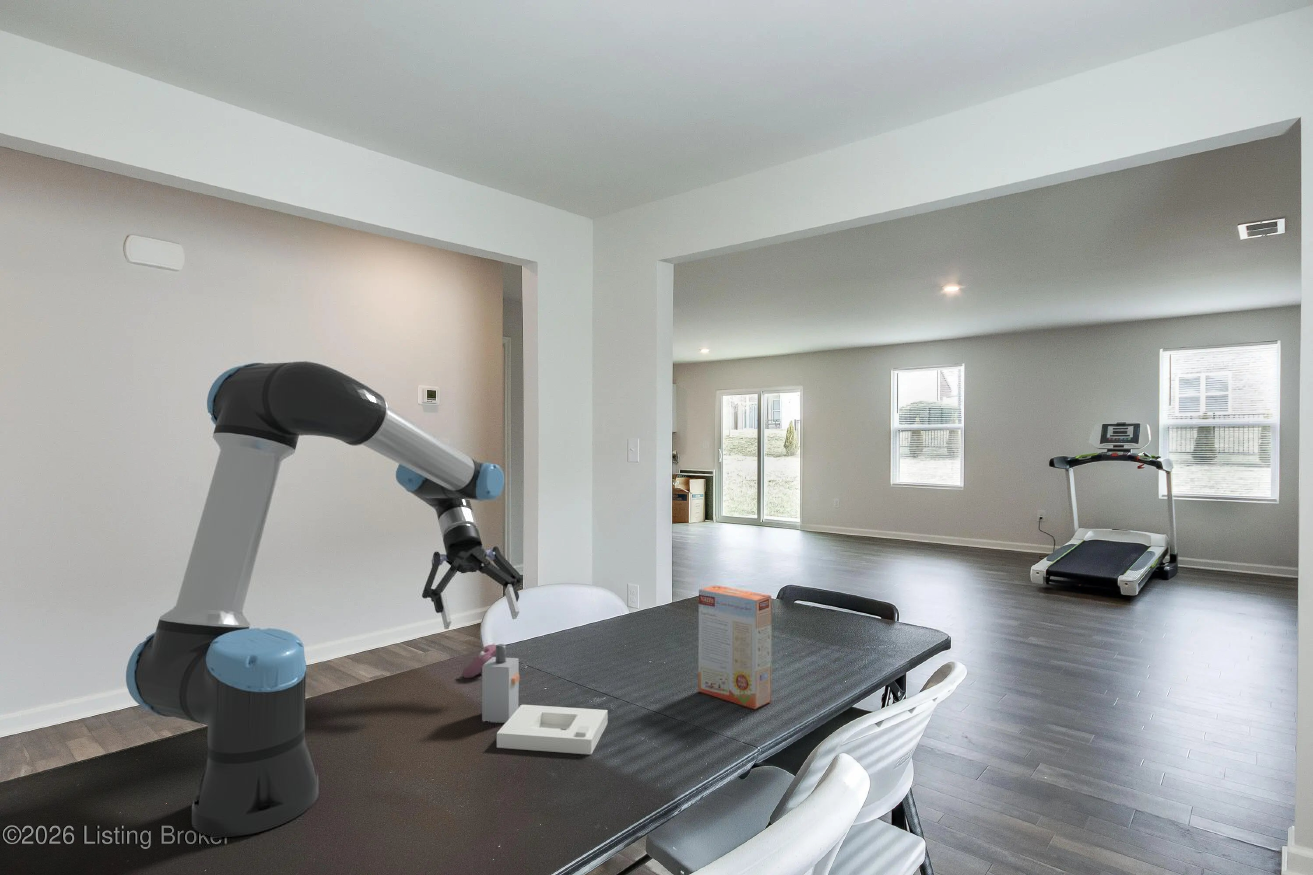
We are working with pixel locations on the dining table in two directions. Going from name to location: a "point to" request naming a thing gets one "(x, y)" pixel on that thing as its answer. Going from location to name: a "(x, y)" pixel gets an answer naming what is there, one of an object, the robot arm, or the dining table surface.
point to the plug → (500, 687)
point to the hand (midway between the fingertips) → (483, 620)
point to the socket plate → (553, 729)
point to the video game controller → (479, 661)
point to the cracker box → (735, 645)
